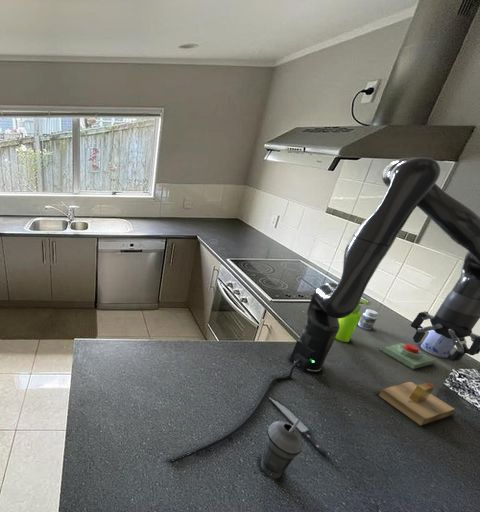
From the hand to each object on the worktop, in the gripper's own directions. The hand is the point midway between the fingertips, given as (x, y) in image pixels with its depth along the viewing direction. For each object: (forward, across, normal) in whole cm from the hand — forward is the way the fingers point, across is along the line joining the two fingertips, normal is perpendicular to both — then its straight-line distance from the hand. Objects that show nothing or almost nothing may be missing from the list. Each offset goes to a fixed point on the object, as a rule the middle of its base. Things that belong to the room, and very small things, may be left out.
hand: (434, 350), depth 89 cm
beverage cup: (+18, +7, -67) cm, 70 cm away
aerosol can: (+18, -11, +39) cm, 44 cm away
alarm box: (+18, -11, +22) cm, 30 cm away
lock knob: (+15, +4, -5) cm, 16 cm away
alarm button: (+15, -11, +22) cm, 28 cm away
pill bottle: (+18, -30, +28) cm, 45 cm away
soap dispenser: (+18, -27, +8) cm, 33 cm away
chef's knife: (+18, -1, -49) cm, 52 cm away
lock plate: (+18, +4, -5) cm, 19 cm away
